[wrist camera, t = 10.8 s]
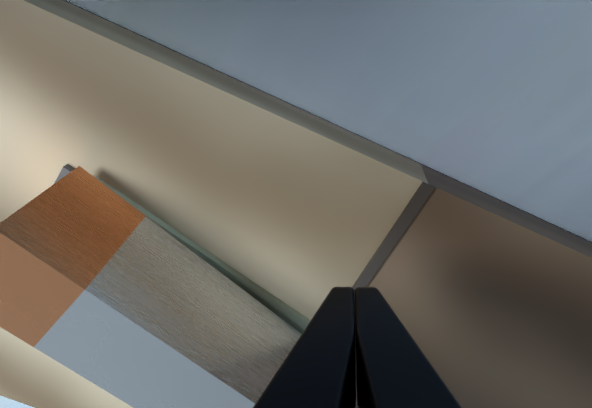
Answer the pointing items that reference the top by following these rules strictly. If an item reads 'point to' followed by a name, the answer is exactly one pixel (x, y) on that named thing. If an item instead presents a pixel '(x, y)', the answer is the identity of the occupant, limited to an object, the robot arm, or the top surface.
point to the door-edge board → (285, 212)
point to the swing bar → (132, 303)
